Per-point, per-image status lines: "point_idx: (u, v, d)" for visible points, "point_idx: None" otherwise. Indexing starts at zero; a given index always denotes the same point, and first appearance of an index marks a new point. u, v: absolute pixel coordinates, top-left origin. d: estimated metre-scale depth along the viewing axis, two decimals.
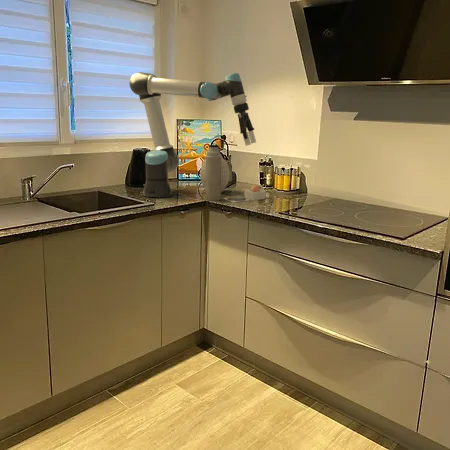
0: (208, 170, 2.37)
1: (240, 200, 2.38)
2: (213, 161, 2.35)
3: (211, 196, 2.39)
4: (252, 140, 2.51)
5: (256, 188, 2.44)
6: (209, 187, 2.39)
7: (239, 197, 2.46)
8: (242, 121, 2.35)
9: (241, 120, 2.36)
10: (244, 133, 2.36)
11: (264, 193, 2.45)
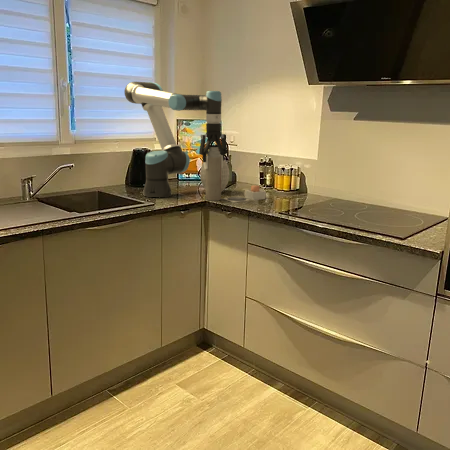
0: (208, 170, 2.37)
1: (240, 200, 2.38)
2: (213, 161, 2.35)
3: (211, 196, 2.39)
4: None
5: (256, 188, 2.44)
6: (209, 187, 2.39)
7: (239, 197, 2.46)
8: (202, 144, 2.32)
9: (201, 142, 2.33)
10: (203, 156, 2.35)
11: (264, 193, 2.45)
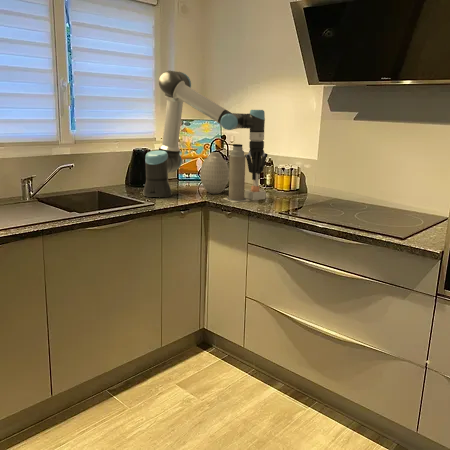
0: (232, 169, 2.36)
1: (240, 200, 2.38)
2: (238, 160, 2.34)
3: (235, 196, 2.38)
4: None
5: (256, 188, 2.44)
6: (233, 187, 2.38)
7: None
8: (249, 163, 2.40)
9: (248, 161, 2.40)
10: (253, 174, 2.43)
11: (264, 193, 2.45)
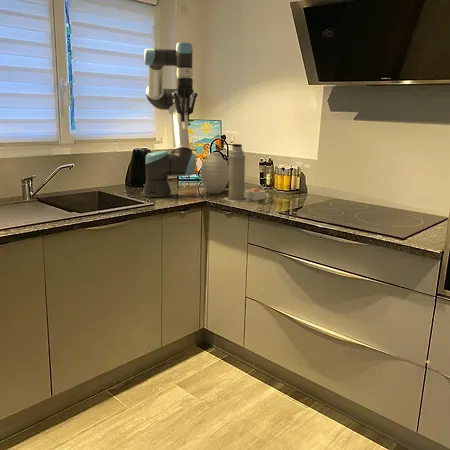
0: (232, 169, 2.36)
1: (240, 200, 2.38)
2: (237, 160, 2.34)
3: (235, 196, 2.38)
4: None
5: (256, 191, 2.44)
6: (233, 187, 2.38)
7: None
8: (176, 102, 2.21)
9: (175, 101, 2.21)
10: (181, 115, 2.24)
11: (264, 193, 2.45)
